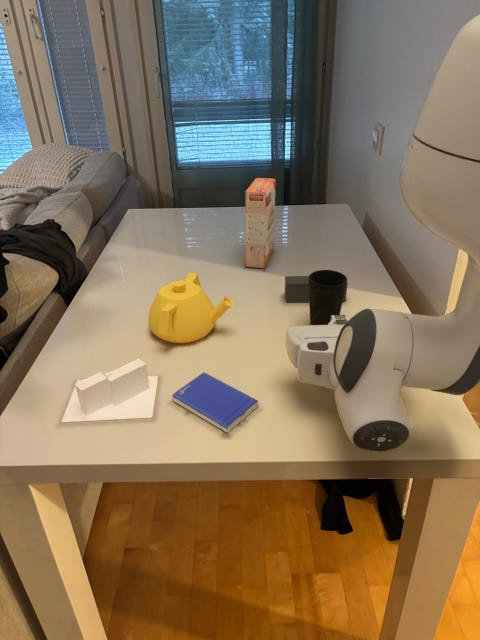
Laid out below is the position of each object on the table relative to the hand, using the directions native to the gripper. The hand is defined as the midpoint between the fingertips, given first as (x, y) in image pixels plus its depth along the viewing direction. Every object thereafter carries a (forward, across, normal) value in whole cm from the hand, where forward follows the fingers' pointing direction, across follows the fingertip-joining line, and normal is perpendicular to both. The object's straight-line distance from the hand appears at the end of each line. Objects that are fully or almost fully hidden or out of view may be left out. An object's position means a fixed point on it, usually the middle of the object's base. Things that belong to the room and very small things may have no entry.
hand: (338, 318), depth 84 cm
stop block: (+26, 0, +10) cm, 28 cm away
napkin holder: (-9, +40, +10) cm, 42 cm away
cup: (+12, 0, +10) cm, 16 cm away
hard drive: (-11, +22, +10) cm, 27 cm away
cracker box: (+50, +12, +10) cm, 52 cm away
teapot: (+13, +28, +10) cm, 33 cm away
